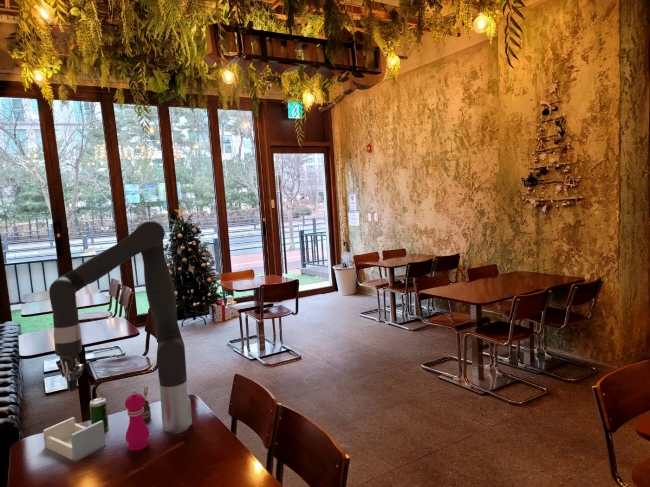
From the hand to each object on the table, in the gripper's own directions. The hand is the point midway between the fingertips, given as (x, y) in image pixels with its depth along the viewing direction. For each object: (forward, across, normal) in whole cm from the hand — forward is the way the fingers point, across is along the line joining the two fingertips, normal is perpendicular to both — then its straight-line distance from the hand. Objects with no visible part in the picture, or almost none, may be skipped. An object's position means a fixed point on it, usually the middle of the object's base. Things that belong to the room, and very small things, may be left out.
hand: (72, 390), depth 144 cm
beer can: (+21, +4, -10) cm, 24 cm away
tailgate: (+20, -7, 0) cm, 21 cm away
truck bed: (+21, +2, 0) cm, 21 cm away
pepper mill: (+21, -17, -10) cm, 29 cm away
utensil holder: (+21, -2, -24) cm, 32 cm away
